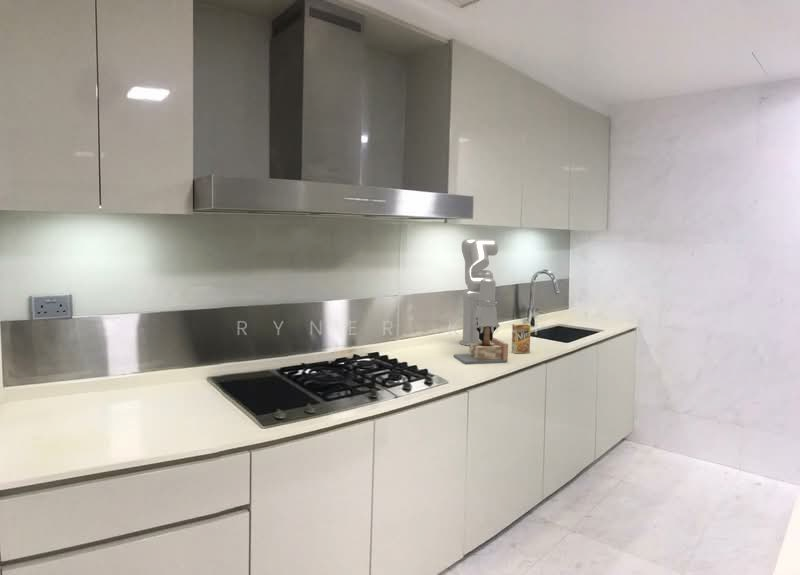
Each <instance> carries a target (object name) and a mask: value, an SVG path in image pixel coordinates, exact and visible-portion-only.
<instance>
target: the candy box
mask: <svg viewBox="0 0 800 575" xmlns="http://www.w3.org/2000/svg"><path fill="white" fill-rule="evenodd" d="M511 325H512V326H511V328H512V329H511V331H512V332H511V333H512V334H511V353H513V354H530V350H531V324H529V323H512V324H511Z"/></svg>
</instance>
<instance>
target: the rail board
mask: <svg viewBox="0 0 800 575" xmlns="http://www.w3.org/2000/svg"><path fill="white" fill-rule="evenodd" d="M490 342H492V343H494V344H496V345H498V346H500V347H502V358H501V359H496V360H477V359H476V358H474V357H472V356H471V355H469V353H459V354H457V353H456V354H453V358H455V359H456V360H458V361H459V362H461V363H462V364H463V365H478V364H479V365H480V364H482V365H483V364H504V363H505V364H507V363H508V359H509V358H508V356H509V344H508V343H507V342H504V341H503V340H501V339H498V338H495V337H493V339H492V341H490ZM506 362H507V363H506Z"/></svg>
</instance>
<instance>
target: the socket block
mask: <svg viewBox="0 0 800 575" xmlns="http://www.w3.org/2000/svg"><path fill="white" fill-rule="evenodd" d="M468 354H469V355H471V356H472V357H474V358H476V359H477V360H496V359H501V358H502V347H500V346H498V345H496V344H494V343H492V342H491V341H490V346H482V343H470V346H469V353H468Z"/></svg>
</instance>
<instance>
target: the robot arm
mask: <svg viewBox="0 0 800 575" xmlns="http://www.w3.org/2000/svg"><path fill="white" fill-rule="evenodd" d="M498 251H499V245H498V243H497V241H496V240H495V239H491V238H467V239H463V240H462V242H461V254H462V256H463V260H464V281H465V284H466V287H467V289H465V290H464V291H463V292H462V294H461V297H462V305H463V306H462V307H463V308H462V309H463V314H462V316H463V317H462V318H463V319H462V339H461V340H459V344H460V345H463V346H467V347H468V346H469V347H470V343H482V341H483V335H484V334H483V328H484V327H486V326H489V327H490V342H491V341H492V339H493V338H494V333H495V331H496V330H497V329H499V328H500V327H501V326H500V323H499V322H498V312H497V311H498V310H497V306H496V305H497V304H498V301H496V287H497V286H496V285H497V283H496V280H495V279H494V275H493V272H492V271H490V270H489V269H488V270H487V269H486V268H487V267H488V266H489V265H490V259H489V256H491V257H492V256H497V254H498Z"/></svg>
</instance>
